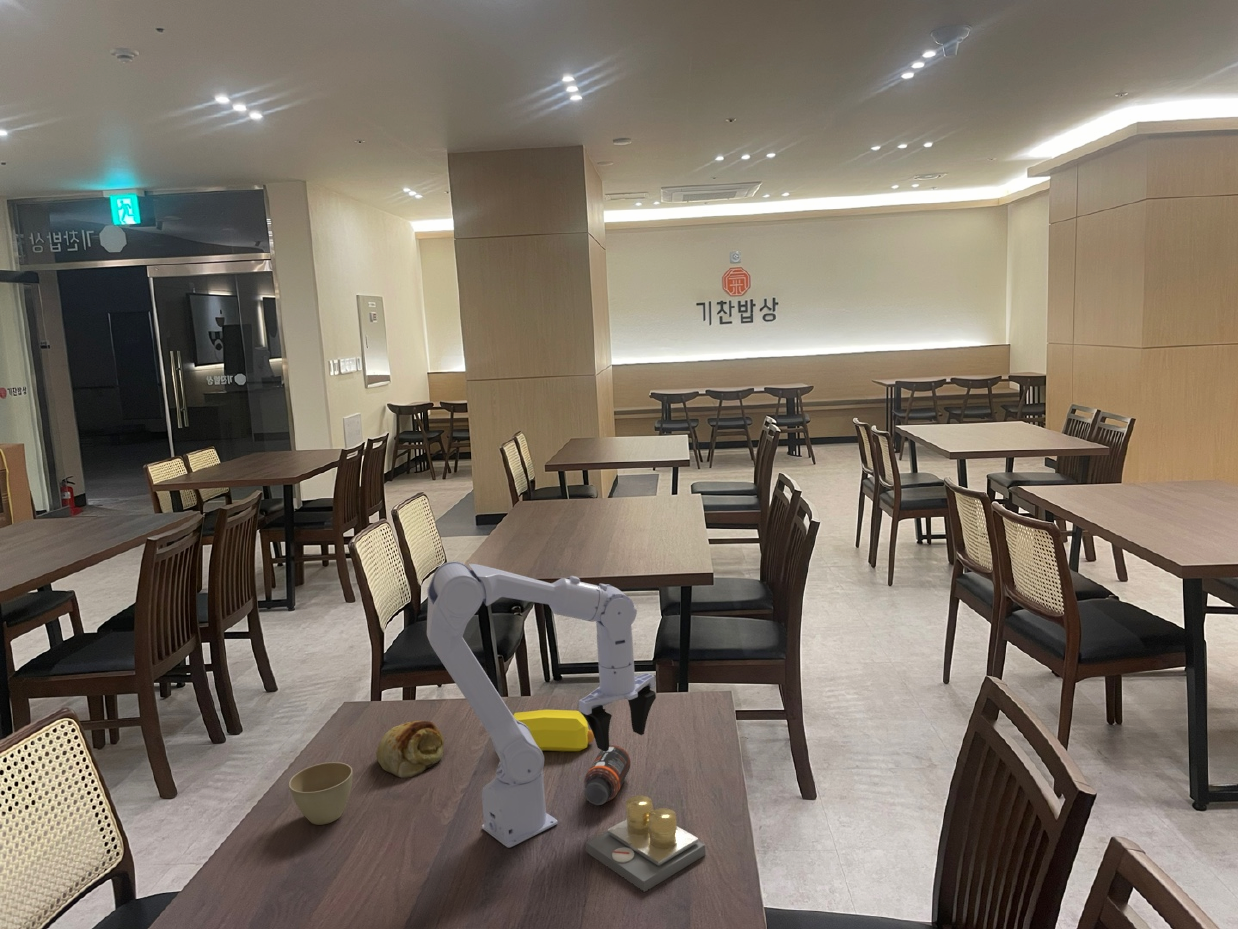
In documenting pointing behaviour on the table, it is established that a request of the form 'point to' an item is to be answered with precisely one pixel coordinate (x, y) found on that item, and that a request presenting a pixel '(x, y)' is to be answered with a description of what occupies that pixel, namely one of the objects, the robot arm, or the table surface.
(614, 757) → the supplement bottle
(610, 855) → the scale
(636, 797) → the cylinder
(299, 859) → the table surface
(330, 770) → the flower pot
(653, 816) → the cylinder
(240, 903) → the table surface
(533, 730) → the yellow mustard bottle
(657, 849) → the pan
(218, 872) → the table surface
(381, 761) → the pastry
